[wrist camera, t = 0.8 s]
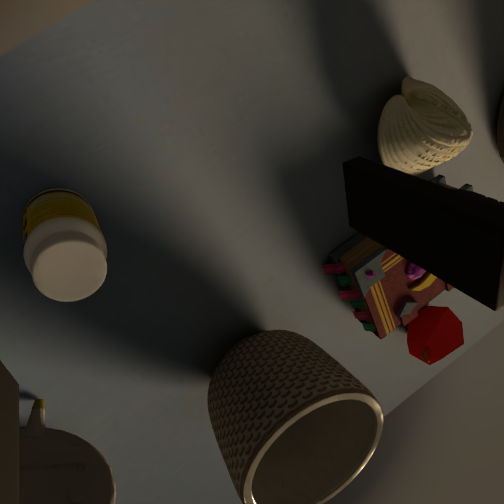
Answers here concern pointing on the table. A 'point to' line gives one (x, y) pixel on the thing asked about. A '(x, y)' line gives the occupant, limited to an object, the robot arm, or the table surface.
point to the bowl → (501, 131)
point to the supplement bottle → (63, 245)
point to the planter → (290, 420)
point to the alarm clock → (60, 466)
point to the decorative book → (383, 281)
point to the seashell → (421, 128)
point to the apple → (434, 334)
